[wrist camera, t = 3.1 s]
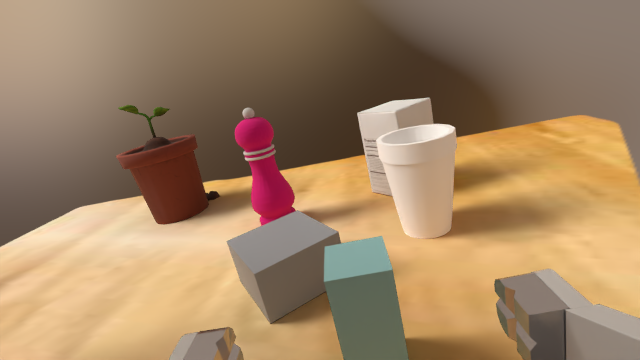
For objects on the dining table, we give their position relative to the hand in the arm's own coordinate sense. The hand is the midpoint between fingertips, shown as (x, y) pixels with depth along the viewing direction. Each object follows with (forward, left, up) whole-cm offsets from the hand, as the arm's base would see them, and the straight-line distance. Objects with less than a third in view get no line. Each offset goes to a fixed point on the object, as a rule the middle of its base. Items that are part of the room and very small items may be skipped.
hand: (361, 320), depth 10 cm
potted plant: (0, +74, -16) cm, 75 cm away
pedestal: (+6, +26, -15) cm, 31 cm away
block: (+6, +10, -15) cm, 20 cm away
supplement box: (+34, +35, -16) cm, 52 cm away
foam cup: (+25, +22, -16) cm, 37 cm away
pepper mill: (+12, +43, -16) cm, 48 cm away
